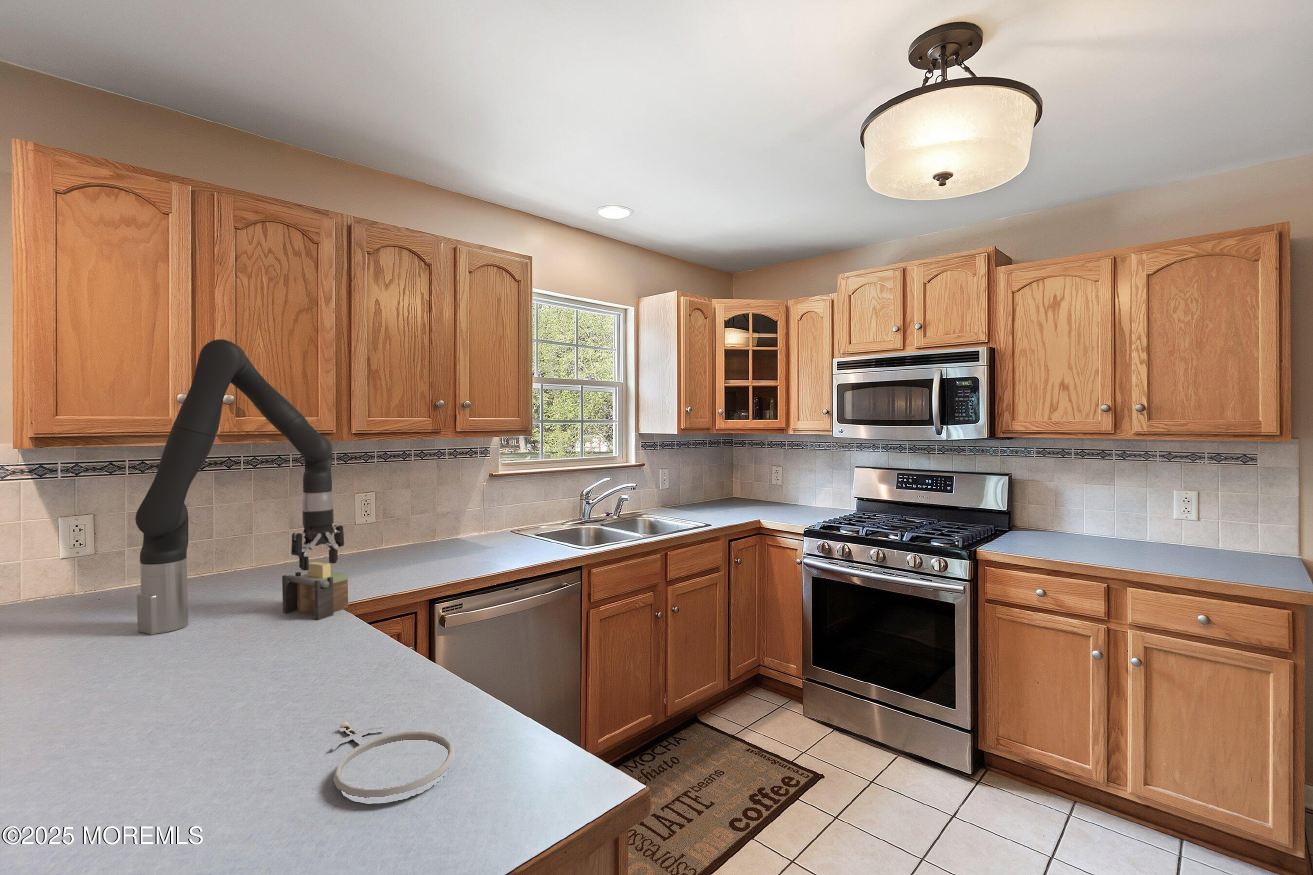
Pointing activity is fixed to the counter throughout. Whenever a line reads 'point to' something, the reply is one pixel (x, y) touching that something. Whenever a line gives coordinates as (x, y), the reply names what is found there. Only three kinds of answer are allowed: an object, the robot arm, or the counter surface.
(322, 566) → the lid
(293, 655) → the counter surface
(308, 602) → the chest
